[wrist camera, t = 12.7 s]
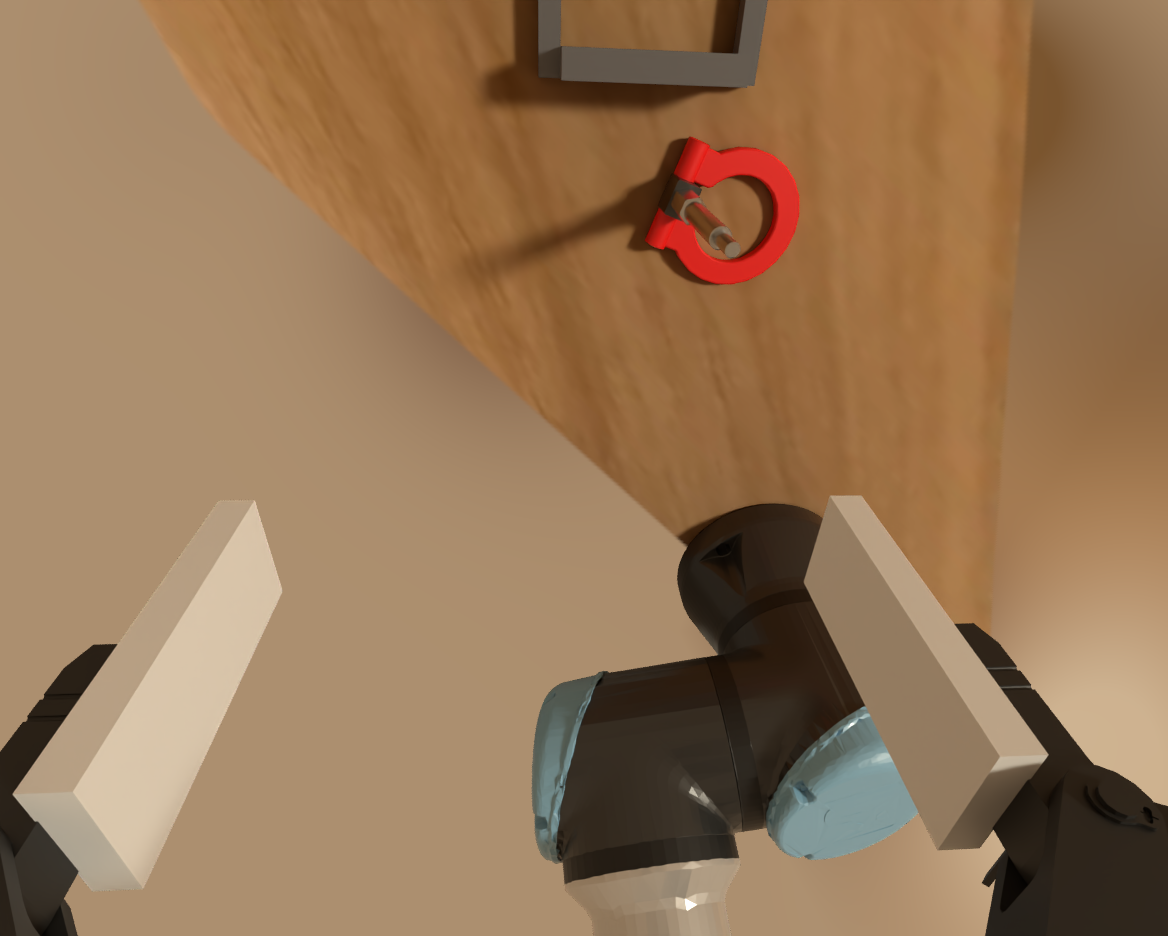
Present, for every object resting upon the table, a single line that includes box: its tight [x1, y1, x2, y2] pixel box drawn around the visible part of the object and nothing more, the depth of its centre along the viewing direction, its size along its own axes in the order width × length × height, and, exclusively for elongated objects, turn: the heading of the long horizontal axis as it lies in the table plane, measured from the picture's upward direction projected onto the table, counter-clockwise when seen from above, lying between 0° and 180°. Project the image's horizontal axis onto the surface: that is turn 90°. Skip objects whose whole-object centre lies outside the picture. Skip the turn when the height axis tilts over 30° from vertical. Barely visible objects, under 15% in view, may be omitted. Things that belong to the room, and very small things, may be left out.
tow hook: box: [645, 137, 799, 284], centre depth 37 cm, size 8×13×9 cm
